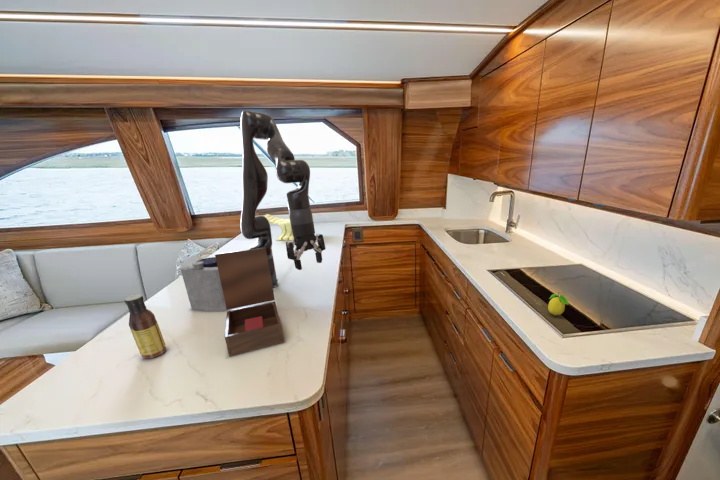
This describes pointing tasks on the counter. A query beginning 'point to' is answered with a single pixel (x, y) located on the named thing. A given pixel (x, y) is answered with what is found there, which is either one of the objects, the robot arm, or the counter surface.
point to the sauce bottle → (144, 328)
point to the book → (253, 323)
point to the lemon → (557, 304)
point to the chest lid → (245, 277)
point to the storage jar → (209, 262)
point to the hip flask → (203, 287)
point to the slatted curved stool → (282, 227)
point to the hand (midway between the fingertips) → (309, 266)
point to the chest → (255, 338)
